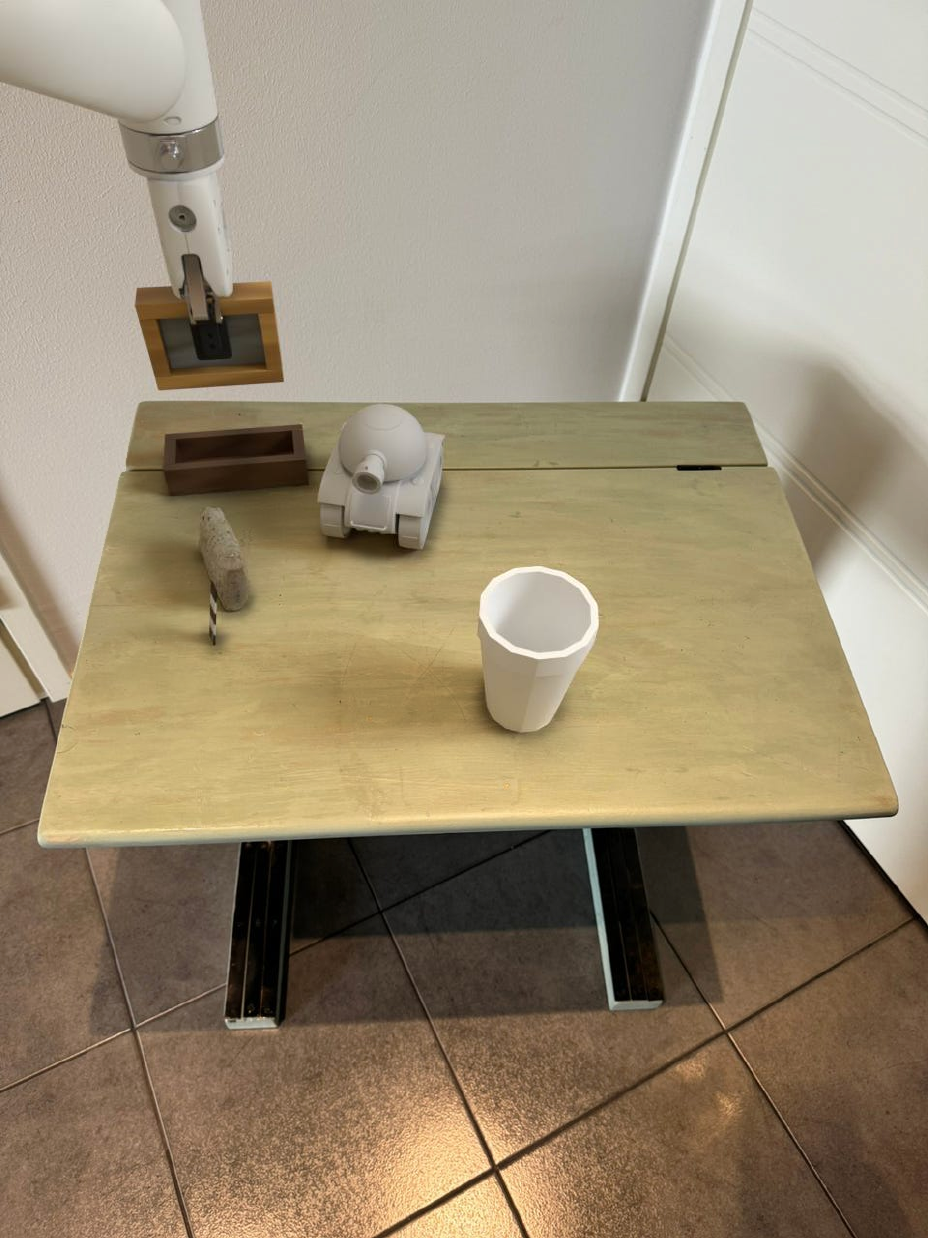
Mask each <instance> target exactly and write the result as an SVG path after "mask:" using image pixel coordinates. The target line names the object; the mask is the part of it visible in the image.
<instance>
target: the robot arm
mask: <svg viewBox="0 0 928 1238" xmlns="http://www.w3.org/2000/svg"><path fill="white" fill-rule="evenodd" d="M204 25H205V24H204V17H203V13H202V5H201V0H0V83H3V84H5V85H9V86H12V87H15V88H19V89H21V90H26V91H29V92H32V93H36V94H39V95H42V96H45V97H48V98H52V99H55V100H57V101H58V100H59V101H60V102H61V101H62V102H64V103H67V104H71V105H74V106H77V107H80V108H83V109H86V110H90V111H93V112H95V113H98V114H102V115H105V116H108V117H111V118H114V119H116V120H117V124H118V128H119V132H120V136H121V137H120V138H121V141H122V144H123V148H124V153H125V156H126V160H127V164H128V165H127V166H128V167H129V169H131V171H133V172H134V173H135V174H137V175H139V176H142V177H143V178H144V177H145V179H146V184H147V189H148V192H149V196H150V198H149V199H150V203H151V208H152V211H153V216H154V220H155V221H154V222H155V224H156V225H155V226H156V229H157V234H158V238H159V242H160V247H161V251H162V254H163V255H162V256H163V259H164V263H165V268H166V270H167V271H166V272H167V275H168V279H169V283H170V286H172V289H173V292H174V295H175V296H176V297H178V298H179V299H181V300H183V297H185V298H186V303H187V308H188V313H189V317H190V319H189V324H190V328H191V333H192V337H193V341H194V346H195V350H196V355H197V358H198V359H199V360H218V359H230V358H231V357H232V349H231V344H230V339H229V333H228V328H227V323H226V317H222V313H221V307H220V302H219V297H222V296H225V298H228V297H229V296H230V295H231V293H232V291H233V283H234V282H233V281H234V280H233V278H234V277H233V276H234V275H233V254H232V253H233V252H232V246H231V240H230V236H229V231H228V226H227V220H226V216H225V210H224V205H223V199H222V195H221V189H220V184H219V179H218V175H217V171H218V170H219V169H221V168H222V166H223V165H224V164H225V162H226V154H225V150H224V149H225V148H224V143H223V136H222V130H221V123H220V116H219V113H218V105H217V99H216V93H215V87H214V81H213V75H212V69H211V63H210V57H209V50H208V43H207V39H206V31H205V26H204ZM204 285H210V286H204ZM206 298H212V303H213V306H212V304H207V300H206Z"/></svg>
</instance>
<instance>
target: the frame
mask: <svg viewBox="0 0 928 1238" xmlns="http://www.w3.org/2000/svg"><path fill="white" fill-rule="evenodd" d="M204 286H210V285H204ZM273 291H274V290H273V283H272V281H271V280H269V281H268V280H267V281H247V282H233V291H232V293H231V295H230V296H229V297H228V298H225V296H222V297H219V302H220V307H221V313H222V317H226V323H227V328H228V333H229V339H230V344H231V349H232V357H231V358H230V359H218V360H199V359H198V358H197V355H196V350H195V346H194V341H193V337H192V333H191V328H190V324H189V319H190V317H189V313H188V308H187V303H186V298H185V297H183V300H181V299H179V298H178V297H176V296H175V295H174V292H173V289H172V286H171V285H168V286H167V285H166V286H165V285H164V286H145V287H143V286H142V287H136V290H135V301H134V307H135V311H136V315H137V318H138V322H139V326H140V329H141V333H142V337H143V340H144V344H145V347H146V351H147V355H148V358H149V363H150V366H151V369H152V373H153V377H154V381H155V384H156V388H157V390H158V391H172V390H173V391H174V390H187V389H202V388H216V387H232V386H233V387H234V386H248V385H262V384H277V383H284V382H285V377H284V367H283V366H284V364H283V358H282V349H281V342H280V336H279V328H278V327H279V326H278V322H277V313H276V306H275V299H274V292H273ZM206 300H207V304H212V306H213V303H212V298H206Z"/></svg>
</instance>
